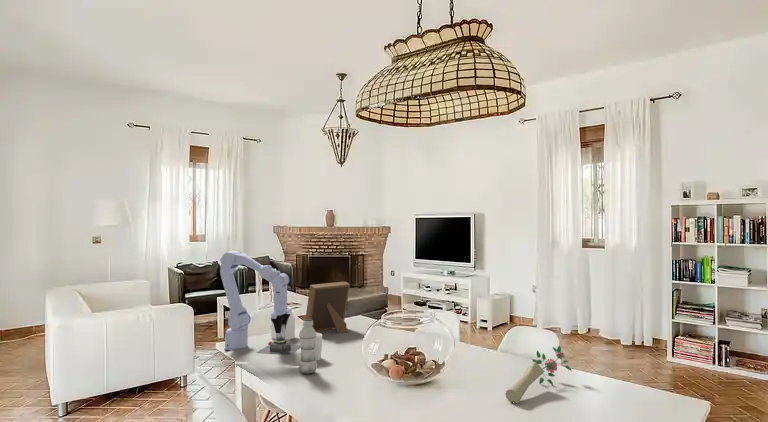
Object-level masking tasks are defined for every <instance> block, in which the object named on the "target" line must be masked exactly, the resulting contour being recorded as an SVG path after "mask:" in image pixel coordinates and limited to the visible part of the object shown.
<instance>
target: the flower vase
mask: <svg viewBox="0 0 768 422" xmlns="http://www.w3.org/2000/svg"><path fill="white" fill-rule="evenodd" d="M552 350H553V351H554V352H555V355H556V359H555V360H554V359H552V358H550V359H549V358H548V359H547V360H546V355H545V353H542V355H541V353H540V352H539V351H538V350H536V358H538V360H537V359H533V358H532V359H531V360H532V363H531V364H530V365H529V366H527V367H526V369H525V371H524V373H523V374H522V376H521V378H519V380H517V382H516V383H514V384H513V385H512V386H511V387H509V388H508V389H507V390H506V391H505V398H506V399H507V401H508V402H510V401H511V402H514V403H517V404H519V402H520V401H521V400H522V398H523V397H524V395H525V393H526V391H527V390H528V388H529V387H530V386H531V385H532V384H533V383H534V382H535V381H537V379H539V381H538V382H539V385H541V384H543V383H544V382H545V379H546V381H547V382H548V383H549V384H550V385H552V386H554V383H553V381H552V380H551V379H550V378H549V379H547V378H546V376H545V375H548V376H549V377H551V378H552V377H555V376H556V375H555V374H554V373H555V371H558V364H559V365H562V366H564V367H565V369H567V370H569V371H571V372H572V371H573V370H572V368H571V367H570V366H569V365H563V364H564V363H565V364H566V363H569V361H568V360H563V359H565V355H564V354H565V353H564V352H562V348H561V346H560V345H558V346H557V348H556V347H555V346H552ZM540 358H542V360H543V361H542V360H541V359H540ZM544 360H545V363H544V364H543V362H544ZM557 360H563V362H562V363H560V362H557ZM544 365H545V366H544ZM542 366H543V367H542ZM544 369H545V370H546V371H547V372H548V373H547V374H545V370H544ZM541 375H543V376H541ZM539 377H540V378H539ZM544 377H545V379H544ZM511 402H510V403H511ZM514 403H513V404H514Z"/></svg>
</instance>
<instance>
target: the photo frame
mask: <svg viewBox="0 0 768 422" xmlns="http://www.w3.org/2000/svg"><path fill="white" fill-rule="evenodd" d="M350 286H351V284H350V283H349V282H347V281H337V282H326V283H318V284H315V283H314V284H310V285H309V290H308V298H307V307H306V310H305V311H306V312H305V319H304V320H313V326H312V327H313V328H314V330H315V331H316V333H320V332H326V331H330V330H335V329H336V331H337V333H338V334H341V333H342V334H343V333H347V332H348V331H347V322H346V321H345V318H346V311H347V306H348V305H347V304H348V300H349V294H350V293H349V292H350Z"/></svg>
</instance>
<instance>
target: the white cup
mask: <svg viewBox="0 0 768 422" xmlns="http://www.w3.org/2000/svg"><path fill="white" fill-rule="evenodd" d="M322 348H323V334H322V333H320V332H316V342H315V357H316V361H319V360H321V359H322V350H323V349H322Z"/></svg>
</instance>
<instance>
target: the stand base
mask: <svg viewBox="0 0 768 422" xmlns="http://www.w3.org/2000/svg"><path fill="white" fill-rule="evenodd" d="M298 350H301V344H292V341H291V340H289V339H288V340H285V343H283V344H277V343H276V339H274V341H269V342H268V343H267V346H265V347H262V348H261V349H260V350H258V351H256V352H255V354H264V355H265V354H266V355H279V356H291V355H293V354H294V353H295V352H297V351H298Z"/></svg>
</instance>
